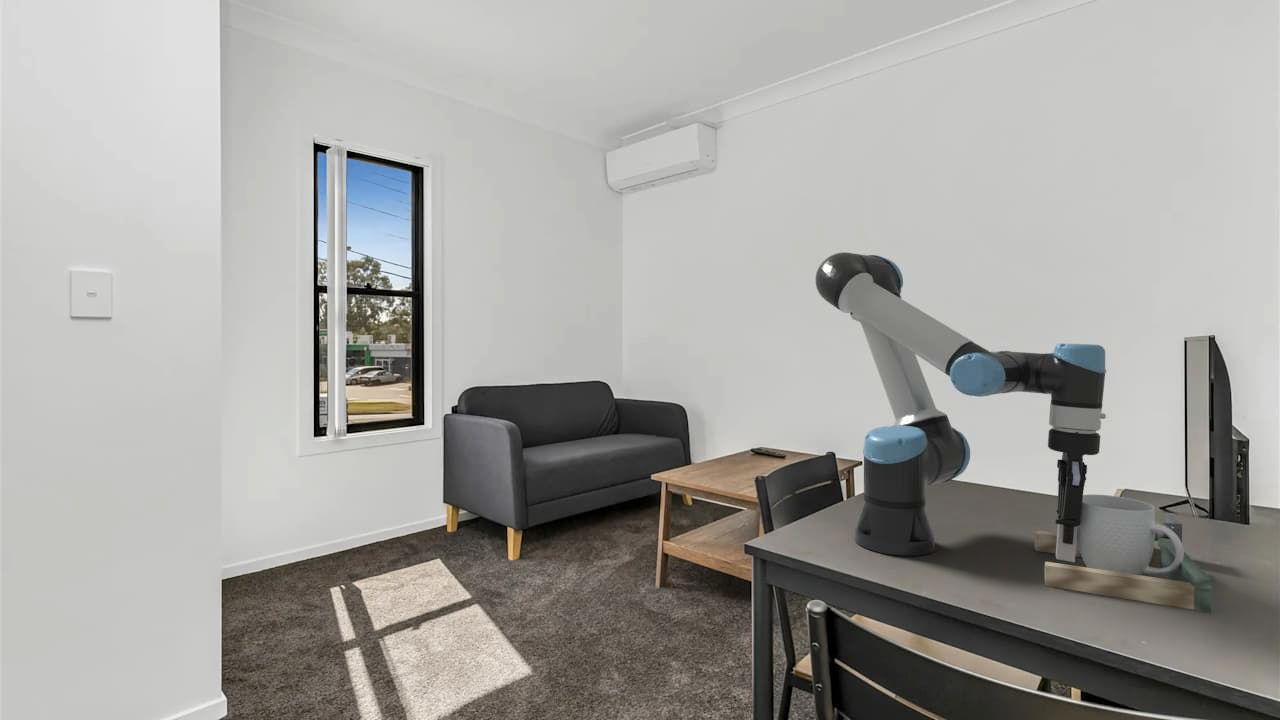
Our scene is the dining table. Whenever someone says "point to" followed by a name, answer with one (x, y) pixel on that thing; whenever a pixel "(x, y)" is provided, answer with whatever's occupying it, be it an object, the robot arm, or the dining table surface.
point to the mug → (1121, 535)
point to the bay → (1133, 578)
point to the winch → (1172, 525)
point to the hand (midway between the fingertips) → (1065, 559)
